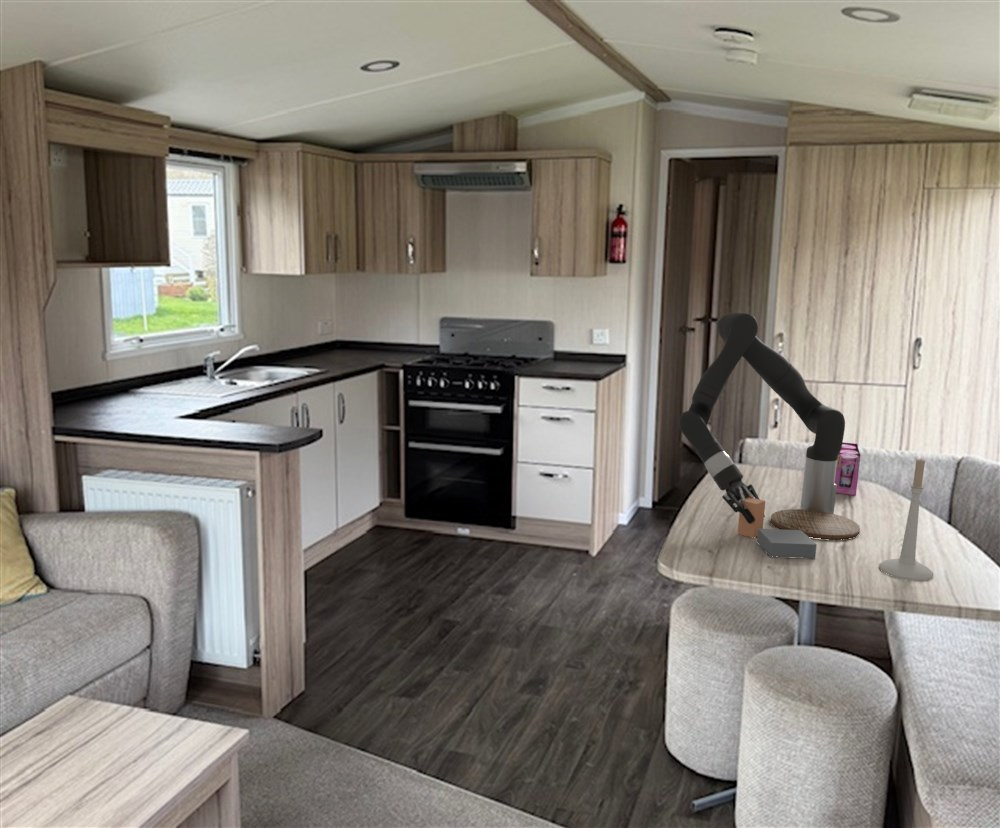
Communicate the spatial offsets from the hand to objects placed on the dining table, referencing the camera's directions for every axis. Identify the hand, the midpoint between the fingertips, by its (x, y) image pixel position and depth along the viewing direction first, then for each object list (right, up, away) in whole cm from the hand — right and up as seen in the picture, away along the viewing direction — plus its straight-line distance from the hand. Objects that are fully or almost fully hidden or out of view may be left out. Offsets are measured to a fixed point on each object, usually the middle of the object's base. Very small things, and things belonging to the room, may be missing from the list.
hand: (757, 520), depth 256 cm
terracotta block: (-2, -4, +2) cm, 5 cm away
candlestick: (+32, -11, -23) cm, 41 cm away
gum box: (+47, +4, +61) cm, 77 cm away
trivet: (+20, -4, +12) cm, 24 cm away
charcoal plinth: (+5, -7, -11) cm, 13 cm away
